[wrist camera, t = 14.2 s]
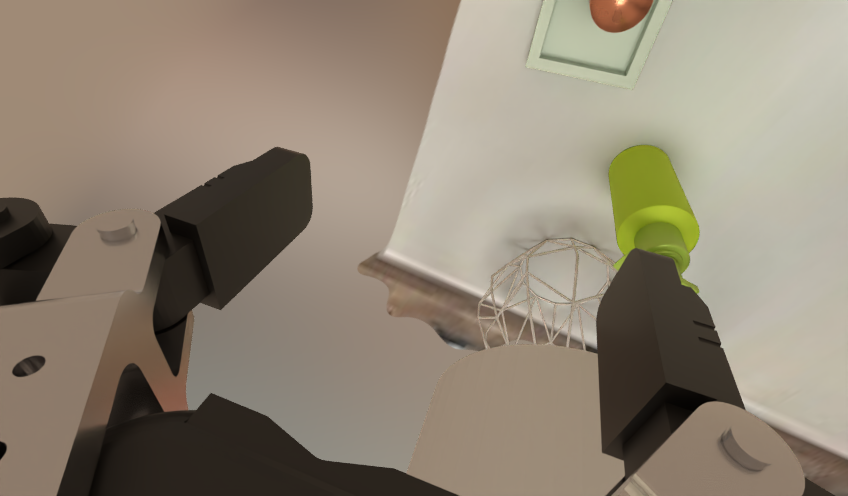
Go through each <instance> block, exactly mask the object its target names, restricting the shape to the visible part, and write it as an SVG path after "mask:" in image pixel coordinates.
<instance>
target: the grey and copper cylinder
mask: <svg viewBox="0 0 848 496" xmlns="http://www.w3.org/2000/svg"><path fill="white" fill-rule="evenodd" d="M588 1H589V7H590V12H591V16H592V19H593V21H594V22H595V24H596V25H597V26H598V27H599V28H600V29H602V30H604V31H606V32H611V33H618V32H623V31H626V30H629V29H631V28H632V27H634V26H636V25H637V24H638V23H639V22H640V21H641V20H642V19H643V18H644V17H645V16H646V15H647V13H648V12H649V10H650V8H651V6H652V3H653V0H588Z"/></svg>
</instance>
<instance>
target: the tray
mask: <svg viewBox="0 0 848 496" xmlns="http://www.w3.org/2000/svg"><path fill="white" fill-rule="evenodd" d="M672 1H673V0H653V3H652V6H651V8H650V10H649V12H648V13H647V15H646V16H645V17H644V18H643V19H642V20H641V21H640V22H639V23H638V24H637V25H636V26H634V27H632V28H631V29H629V30H626V31H623V32H618V33H611V32H606V31H604V30H602V29H600V28H599V27H598V26H597V25H596V24H595V22H594V21H593V19H592V16H591V12H590V7H589V1H588V0H544V1H543V4H542V8H541V12H540V15H539V19H538V23H537V26H536V30H535V34H534V37H533V41H532V45H531V48H530V52H529V56H528V59H527V63H526V67H528V68H532V69H537V70H542V71H546V72H551V73H556V74H560V75H565V76H569V77H574V78H579V79H583V80H588V81H593V82H597V83H602V84H607V85H611V86H616V87H621V88H625V89H630V90H633V88H634V86H635V84H636V82H637V79H638V77H639V75H640V73H641V70H642V68H643V66H644V64H645V61H646V59H647V57H648V55H649V52H650V50H651V48H652V46H653V44H654V41H655V39H656V37H657V35H658V32H659V30H660V28H661V26H662V23H663V21H664V19H665V17H666V15H667V12H668V10H669V8H670V6H671V3H672Z"/></svg>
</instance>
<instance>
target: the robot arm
mask: <svg viewBox="0 0 848 496" xmlns="http://www.w3.org/2000/svg"><path fill="white" fill-rule="evenodd" d="M312 207H313V206H312V188H311V170H310V161H309V159H308V157H307V156H306V155H305V154H302V153H298V152H295V151H291V150H287V149H284V148H280V147H275V148H273V149H271V150H269V151H268V152H266V153H264V154H263V155H261V156H260V157H258V158H256V159H255V160H253V161H250V162H246V163H243V164H239V165H236V166H233V167H231V168H230V169H228V170H226V171H225V172H223V173H221V174H220V175H218V177H217V178H213V179H211V180H209V181H207V182H206V183H205V185H204V186H202V185H201V186H199V187H197V188H196V189H194V190H192V191H190V192H189V193H187V194H185V195H184V196H182V197H180V198H179V199H177V200H175V201H173V202H172V203H170V204H168V205H167V206H165V207H163V208H162V209H160V210H158V211H156V212H155V213H152V212H149V211H146V210H141V209H120V210H114V211H109V212H105V213H102V214H99V215H96V216H94V217H91V218H89V219H87V220H86V221H84V222H83V223H81V224H79V225H78V226H72V225H59V224H49V223H48V221H47V219H46V218H45V216H44V214H43V212H42V211H41V209H40V207H39V205H38V204H37V203H35V202H34V201H31V200H29V199H24V198H0V496H459V495H457V494H455V493H452V492H450V491H447V490H445V489H442V488H440V487H438V486H435V485H433V484H430V483H428V482H425V481H423V480H421V479H418V478H416V477H413V476H411V475H408V474H406V473H404V472H401V471H399V470H396V469H393V468H385V467H375V466H367V465H358V464H350V463H340V462H332V461H325V460H321V459H319V458H316V457H315V456H314V455H312V454H311V453H310V452H309V451H308V450H307V449H305V448H304V447H303V446H302V445H301V444H299V443H298V442H297V441H296V440H295V439H294V438H292V437H291V436H290V435H289V434H288V433H286V432H285V431H284V430H283V429H282V428H280V427H279V426H278V425H277V424H276V423H274V422H273V421H272V420H271V419H270V418H269V417H267V416H265V415H263V414H260V413H258V412H256V411H253V410H251V409H248V408H246V407H244V406H241V405H239V404H236V403H234V402H231V401H229V400H227V399H224V398H222V397H219V396H217V395H215V394H212V393H211V394H210V395H209V396H208V397H207V398H206V399H205V401H204V402H203V403H202V404H201V405H200V406H199V408H198V409H197V410H188V404H187V398H186V382H187V374H188V366H189V358H190V350H191V341H192V334H193V326H194V315H193V311H192V309H193V308H194V307H195V306H197V305H198V304H199V303H203V304H205V305H208V306H211V307H214V308H216V309H219V310H221V309H222V308H223V307H224V306H225V305H226V304H227V303H229V301H231V299H232V298H234V297H235V296H236V295H237V294H238V293H239V292H240V291H241V290H242V289H243V288H244V287H245V286H246V285H247V284H248V283H249V282H250V281H251V280H252V279H253V278H254V277H255V276H256V275H257V274H259V273H260V272H261V271H262V270H263V269H264V268H265V267H266V266H267V265H268V264H269V263H270V262H271V261H272V260H273V259H274V258H275V257H276V256H277V255H278V254H279V253H280V252H281V251H282V250H283V249H284V248H285V247H286V246H287V245H289V243H291V242H292V241H293V240H294V239H295V238H296V237H297V236H298V235H299V234H300V233H301V232H302V231H303V230H304V229H305V228H306V226H307V225H308V223H309V221H310V218H311V215H312V209H313V208H312ZM596 327H597V351H598V374H599V398H600V421H601V445H602V453H604V454H607V455H609V456H612V457H615V458H617V459H620V460H623V461H624V470H625V476H624V477H623V478H622V479H620V480H619V481H618V482H617V483H616V484H615V485H614V486H613V487H612V488H611V489H610V491H609V492H608V493H607V494H606V495H605V496H835V495H833V494H831V493H830V492H828V491H826V490H825V489H823V488H821V487H820V486H818V485H816V484H815V483H813V482H811V481H810V480H808V479H807V478H805V477H804V474H803V470H802V468H801V465H800V463H799V461H798V460H797V458H796V456H795V454H794V453H793V452H792V450H791V449H790V447H789V446H788V445H787V444H786V443H785V441H784V440H783V439H782V438H781V437H780V436H779V435H778V434H777V433H776V432H775V431H774V430H773V429H772V428H771V427H769V426H768V425H767V424H766V423H765V422H763V421H762V420H760V419H759V418H758V417H756V416H754V415H753V414H751V413H749V412H748V411H746V410H745V407H744V404H743V402H742V399H741V396H740V393H739V391H738V388H737V385H736V382H735V380H734V377H733V374H732V372H731V369H730V366H729V363H728V361H727V358H726V355H725V353H724V350H723V348H721V347H720V345H721V342H720V339H719V336H718V333H717V331H715V330H714V328H715V325H714V323H713V320H712V317H711V314H710V312H709V309H708V307H707V306H706V304H705V303H704V302H703V301H702V300H701V298H700V297H699V296H698V295H697V294H696V292H695V291H694V290H693V289H692V288H691V287H688V286H685V285H682V284H681V281H680V277H679V274H678V271H677V268H676V265H675V262H674V260H673V259H672V258H670V257H667V256H663V255H660V254H656V253H653V252H649V251H645V250H642V249H638V248H634V249H633V250H631V251H630V253H629V254H628V255H627V257H626V259H625V260H624V262H623V264H622V265H621V267H620V269H619V270H618V272H617V274H616V275H615V277H614V279H613V281H612V282H611V284H610V286H609V287H608V289H607V291H606V292H605V294H604V296H603V298H602V300H601V302H600V305H599V308H598V312H597V319H596Z"/></svg>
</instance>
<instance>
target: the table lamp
mask: <svg viewBox="0 0 848 496" xmlns="http://www.w3.org/2000/svg"><path fill="white" fill-rule="evenodd" d="M566 240H571V242H572V244H573V245H568V244H564V243H559V242H555V241H566ZM573 241H575V242H577V243H580V244H583V245H585V246H588V247H584V246H575V244H574V242H573ZM546 242H551V243H555V244H560V245H564V246H568V248H563V249H558V250H553V251H548V252H544V253H539V254H534V255H532V254H533V253H534V252H535V251H536V250H537V249H539V248H540V247H541V246H542V245H544V244H545V243H546ZM573 248H574V249H575V252H576V268H575V279H574V289H573V298H572V300H570V299H569V298H567V297H566V296H564V295H563V294H561V293H559V292H558V291H556V290H555V289H553V288H552V287H550V286H549V285H547V284H546V283H544V282H543V281H541V280H540V279H538V278H537V277H535V276H534V275H532V274H531V273H529V272H528V263H529V258H530V257H535V256H540V255H545V254H549V253H554V252H559V251H564V250H568V249H573ZM580 248H586V249H594V250H595V251H596V252H597V253H598V255H599V256H600V257H601V258H602V259H603V260H604V261H603V260H601V259H599V258H597V257H595V256H593V255H592V254H590V253H588V252H586V251H584V250H582V249H580ZM577 250H579V251H581V252H583V253H585V254H587V255H589V256H591V257H593V258H595V259H596V260H598V261H600V262H602V263H604V264H606V265H607V283H606V284H605V285H604V286H603V288H602V289H601V290H600V292H599V293H598V294H597V296H593V297H589V298H586V299H582V300H578V301H575V294H576V284H577V274H578V260H579V255H578V252H577ZM531 251H532V252H531ZM529 252H531V253H530V254H529V255H528V256H527V254H528V253H529ZM523 256H524V257H523ZM521 257H523V258H521ZM520 258H521V259H520ZM525 259H526V272H525V274H524V275H522V269H521V265H522V263H523V262H524V260H525ZM607 259H608V260H609V261H610V262H611V263H612V264H613V265H614V264H615V262H613V261H612V260H611V259H610V258H608V257H607V256H606V255H604V254H603V253H602V252H600V251H599V250H598V249H596V248H595V247H593V246H590V245H588V244H585V243H582V242H580V241H577V240H575V239H571V238H569V239H552V240H545V241H544V242H542V243H540V244H538V245H536V246H535V247H533V248H531V249H529V250H528V251H526V252H525V253H523V254H522V255H520V256H519V257H517V258H515V259H514V260H512V261H511V262H509V263H508V264H506V265H505V266H504V267H502V268H501V269H500V270H498V271H497V272H496V273H494V274H493V275H492V276H491V287H490V288H489V289H488V291H487V292H486V294H485V295H484V296H483V298H482V299H481V300H480V302H479V303H478V315H477V319H478V322H479V326H480V329H481V333H482V337H483V340H484V344H485V348H486V349H485V350H482V351H479V352H476V353H473V354H470V355H468V356H466V357H464V358H462V359H460V360H458V361H457V362H456V363H454V364H453V365H451V366H450V367H449V368H448V369H447V370H446V371H445V372H444V373H443V374H442V376H441V378H440V379H439V381H438V383H437V385H436V388H435V391H434V394H433V397H432V400H431V403H430V406H429V409H428V412H427V414H426V418H425V420H424V423H423V426H422V429H421V432H420V435H419V438H418V441H417V444H416V447H415V450H414V453H413V455H412V458H411V461H410V464H409V467H408V470H407V473H406V474H408V475H411V476H413V477H416V478H418V479H421V480H423V481H425V482H428V483H430V484H433V485H435V486H438V487H440V488H442V489H445V490H447V491H450V492H452V493H455V494H457V495H459V496H605V495H606V494H607V493H608V492H609V491H610V489H611V488H612V487H613V486H614V485H615V484H616V483H617V482H618V481H619V480H620V479H622V478H623V477H624V476H625V470H624V461H623V460H620V459H617V458H615V457H612V456H609V455H607V454H604V453H602V445H601V421H600V398H599V374H598V354H596V353H592V352H588V351H586V350H585V342H584V336H583V329H582V323H581V316H580V310H579V307H580V308H582V309H583V310H584V311H585V312H586V313H588V314H589V315H590V316H591V317H593V318H594V319H595V320H596V318H595V317H594V316H593V315H591V314H590V313H589V312H588V311H587V310H585V309H584V308H583V307H582V306H580V304H582V303H584V302H587V301H589V300H592V299H595V298H597V299H598V301H599V304H600V299H599V297H603V296H604V294H605V293H604V294H601V295H600V293H601V292H602V291H603V290H604V288H605V287H606V286H607V284H608V287H609V286H610V284H611V281H609V267H610V268H611V269H613V270H614V271H615V272H616V273H617V272H618V270H616V269H615V268H614V267H613V265H612V264H611V263H610V262H609V261H608V260H607ZM521 260H522V262H521V264H520V266H518V265H513V263H516V262H519V261H521ZM508 266H514V267H518V268H516V269H515V270H514V271H513V272H512V273H511V274H510V275H508V276H507V277H506V278H505V279H504V280H503V281H502V282H500V283H499V284H498V285H497V286H496V287H495V288H494V289H493V286H494V285H495V283H496V282H497V280H498V279H499V278H500V276H501V275H502V274H503V272H504V271H505V270H506V268H507V267H508ZM502 270H503V271H502ZM519 270H520V273H521V280H520V281H519V283H518V284H517V286H516V287H515V289H514V290H513V292H512V293H511V295H510V296H509V294H510V292H511V289H512V287H513V284H514V282H515V279H516V277H517V275H518V272H519ZM500 271H502V272H501V273H500V275H499V276H498V277H497V279H496V280H495V281H494V283H493V277H494V276H495V275H496V274H498V273H499V272H500ZM516 271H517V273H516V275H515V278H514V280H513V283H512V285H511V288H510V290H509V293H508V295H507V298H506V300H505V302H504V305H503V307H502V308H501V309H498V308H496V305H495V300H494V295H493V291H494V290H495V289H496V288H498V287H499V286H500V285H501V284H502V283H503V282H504V281H505V280H507V279H508V278H509V277H510V276H511V275H512V274H513V273H514V272H516ZM528 275H530V276H531V277H533V278H534V279H536V280H537V281H539V282H540V283H542V284H543V285H545V286H546V287H548V288H549V289H551V290H552V291H554V292H555V293H557V294H558V295H560V296H561V297H563V298H564V299H566V300H567V301H569V302H570V303H572V304H564V303H553V302H551V301H548V300H546V299H543V298H541V297H538V296H536V294H535V293H534V292H533V291H532V290H531V289H530V288H529V281H528ZM525 276H526V284H525V283H524V280H523V279H524V278H525ZM521 282H522V283H521ZM523 284H524V285H525V286H526V287H527V299H526V300H524V301H522V302H519V303H517V304H515V305H512V306H510V307H507V308H506V306H507V305H508V304H509V302H510V301H511V300H512V298H513V297H514V295H515V294H516V293H517V291H518V290H519V289H520V287H521V286H522V285H523ZM519 285H520V286H519ZM489 291H491V292H490V293H489ZM529 291H530V292H531V293H532V294H533V295H534V296H533V297H531V298H530V295H529ZM488 293H489V294H488ZM487 294H488V295H487ZM490 294H491V296H492V301H493V306H494V307H492V306H488V305H485V304H482V302H483V301H484V300H485V299H486V298H487V297H488V296H489V295H490ZM486 295H487V296H486ZM508 297H509V298H508ZM533 298H534V300H533V303H532V305H531V306H530V300H531V299H533ZM538 298H539V299H542V300H544V301H547V302H549V303H552V304H554V305H555V307H554V315H553V323H552V331H551V339H550V336H549V333H548V330H547V326H546V323H545V320H544V317H543V314H542V311H541V308H540V305H539V301H538ZM535 300H537V304H538V307H539V310H540V313H541V316H542V319H543V323H544V326H545V329H546V332H547V335H548V338H549V341H550V342H548V343H546V344H543V345H542V344H536V339H535V332H534V325H533V319H532V312H531V309H532V307H533V305H534V302H535ZM526 301H528V309H529V312H528V314H527V317H526V319H525V321H524V324H523V326H522V328H521V331H520V333H519V336H518V338H517V341H516V343H515V345H510V344H509V339H508V334H507V329H506V324H505V319H504V314H503V311H505V310H507V309H509V308H512V307H514V306H516V305H519V304H521V303H523V302H526ZM577 303H578V304H577ZM480 305H482V306H486V307H489V308H492V309H494V312H495V316H492V317H479V314H480ZM556 305H572V306H571V313H570V315H569V316H568V318H567V319H566V320H565V322H564V323H563V325H562V326H561V327H560V329H559V330H558V332H557V333H556V334H555V336H554V337H553V329H554V321H555V313H556ZM574 305H576V306H575V308H574ZM576 308H578V315H579V322H580V328H581V335H582V341H583V348H584V350H579V349H574V348H569V340H570V333H571V326H572V318H573V312H574V311H575V309H576ZM497 310H499V313H498V314H497ZM501 313H502V318H503V323H504V328H505V333H506V336H505V334H504V331H503V329H502V326H501V324H500V321H499V319H498V317H499V316H500V314H501ZM528 316H530V322H531V329H532V336H533V342H534V344H519V345H517V343H518V341H519V338H520V336H521V333H522V331H523V328H524V326H525V324H526V321H527V319H528ZM569 318H570V321H569V329H568V336H567V343H566V347H562V346H555V345H554V344H553V343H552V342H553V340H554V339H555V337H556V336H557V335H558V333H559V332H560V330H561V329H562V328H563V326H564V325H565V323H566V322H567V321H568V319H569ZM480 319H495V320H494V321H493V322H492V324H491V325H490V327H489V328H488V329H487V331H486V333H485V336H484V333H483V329H482V326H481V322H480ZM496 320H497V322H498V325H499V327H500V330H501V332H502V335H503V337H504V340H505V343H506V345H507V346H499V347H494V348H490V347H489V345H488V343H487V333H488V331H489V330H490V328H491V327H492V326H493V324H494V323H495V321H496ZM552 337H553V339H552ZM506 338H507V339H506ZM548 344H550V345H548ZM551 344H552V345H551ZM487 347H488V348H487Z"/></svg>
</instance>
